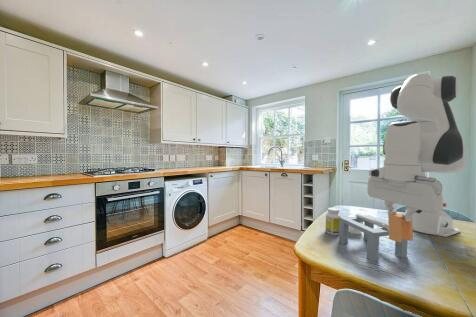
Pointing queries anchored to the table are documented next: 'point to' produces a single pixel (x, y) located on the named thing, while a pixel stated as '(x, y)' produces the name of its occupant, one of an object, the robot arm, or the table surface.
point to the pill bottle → (332, 221)
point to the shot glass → (353, 230)
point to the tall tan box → (400, 228)
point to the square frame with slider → (370, 234)
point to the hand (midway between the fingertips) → (399, 218)
